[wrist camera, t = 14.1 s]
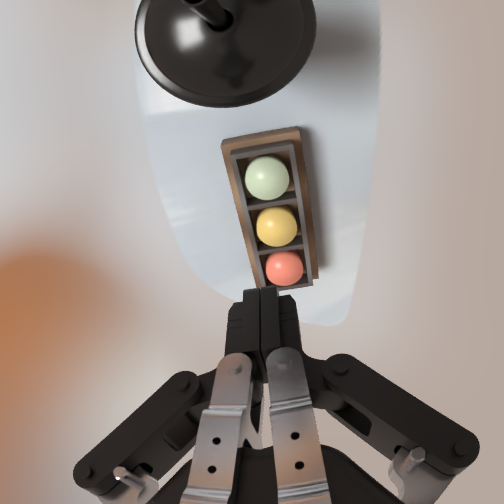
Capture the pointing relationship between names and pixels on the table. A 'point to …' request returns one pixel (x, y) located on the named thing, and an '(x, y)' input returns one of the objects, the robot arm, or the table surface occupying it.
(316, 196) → the table surface
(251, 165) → the button sage
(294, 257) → the button coral
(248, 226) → the toy traffic light
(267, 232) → the button ochre
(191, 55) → the drinking cup
